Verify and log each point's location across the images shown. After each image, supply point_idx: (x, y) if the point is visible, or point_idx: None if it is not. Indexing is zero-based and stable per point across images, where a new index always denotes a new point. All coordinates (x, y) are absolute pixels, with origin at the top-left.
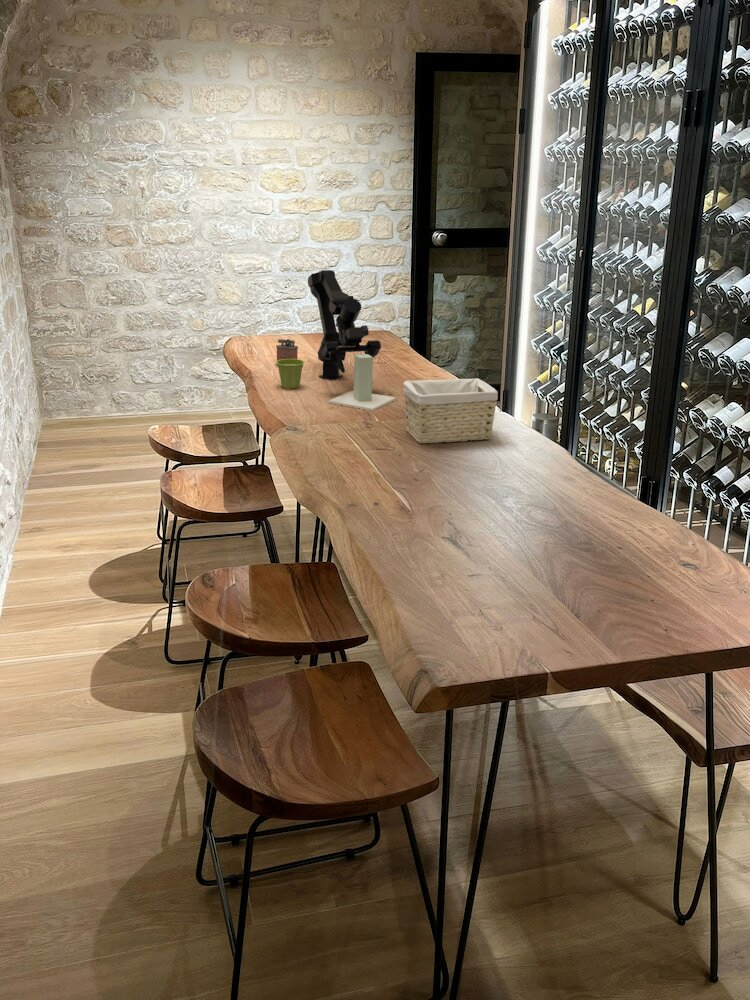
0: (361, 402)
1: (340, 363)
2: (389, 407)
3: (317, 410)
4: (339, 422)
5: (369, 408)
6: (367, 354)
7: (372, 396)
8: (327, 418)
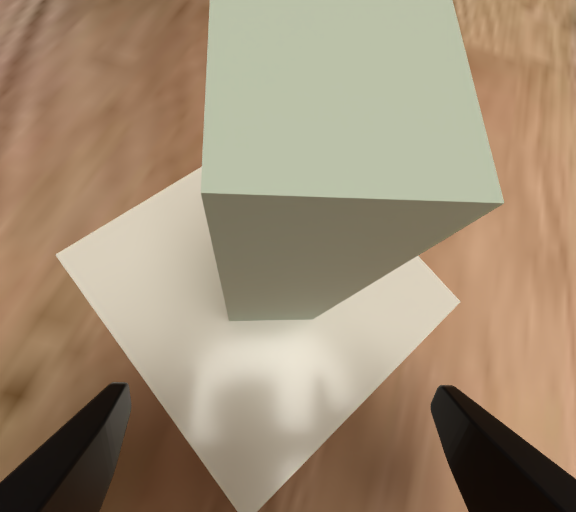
0: None
1: (548, 460)
2: (179, 148)
3: (514, 207)
4: None
5: None
6: (210, 172)
7: (186, 318)
8: (487, 103)
